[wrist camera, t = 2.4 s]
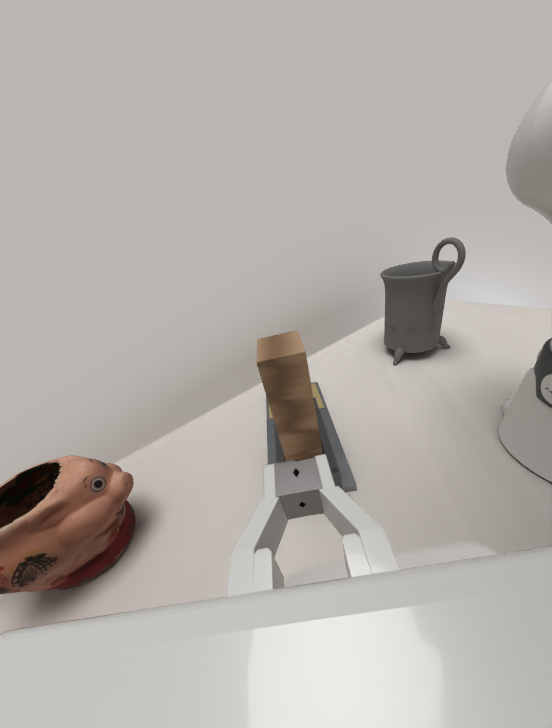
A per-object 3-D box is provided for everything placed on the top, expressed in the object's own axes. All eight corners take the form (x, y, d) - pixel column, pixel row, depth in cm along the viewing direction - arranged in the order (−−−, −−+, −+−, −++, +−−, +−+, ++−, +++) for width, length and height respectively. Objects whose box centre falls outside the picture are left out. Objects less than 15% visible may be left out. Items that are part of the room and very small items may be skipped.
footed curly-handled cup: (363, 345, 64) (360, 248, 52) (411, 331, 65) (418, 232, 53) (413, 378, 48) (425, 248, 36) (475, 358, 49) (507, 225, 37)
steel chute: (317, 385, 53) (315, 370, 51) (356, 490, 31) (355, 471, 29) (267, 395, 54) (263, 382, 52) (270, 505, 32) (263, 488, 30)
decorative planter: (-36, 678, 23) (-203, 643, 17) (18, 555, 33) (-73, 502, 27) (163, 549, 30) (101, 486, 23) (159, 478, 40) (115, 420, 33)
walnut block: (317, 442, 38) (297, 330, 28) (326, 475, 32) (305, 351, 23) (287, 448, 38) (257, 339, 28) (292, 481, 33) (256, 362, 23)
